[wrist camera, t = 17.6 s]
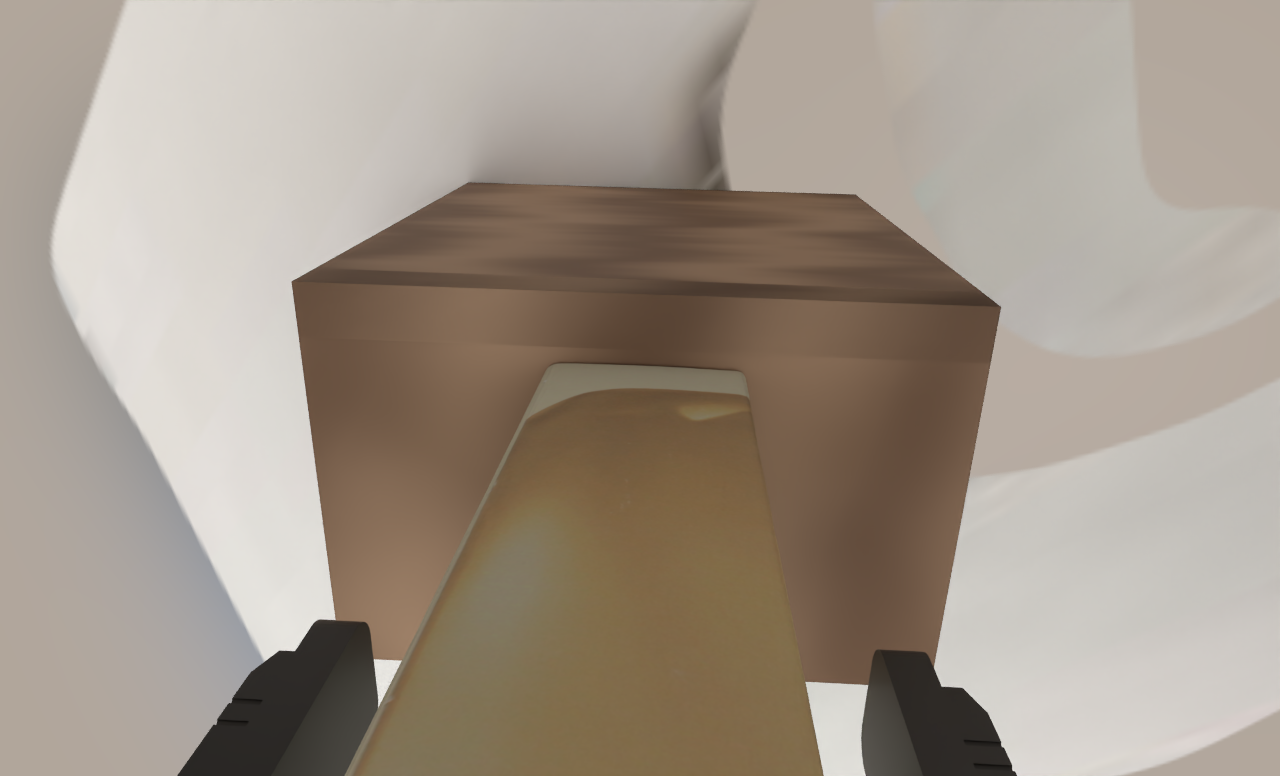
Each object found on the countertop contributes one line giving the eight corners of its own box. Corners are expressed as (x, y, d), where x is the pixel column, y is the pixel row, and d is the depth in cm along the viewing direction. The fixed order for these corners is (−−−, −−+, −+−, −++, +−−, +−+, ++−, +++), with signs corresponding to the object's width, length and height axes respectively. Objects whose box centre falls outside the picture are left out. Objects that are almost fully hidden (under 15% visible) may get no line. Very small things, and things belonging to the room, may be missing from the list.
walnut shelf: (855, 194, 31) (1000, 306, 17) (828, 429, 34) (929, 688, 20) (468, 182, 31) (291, 281, 17) (480, 415, 35) (340, 657, 21)
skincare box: (733, 612, 20) (801, 1369, 8) (549, 604, 20) (367, 1335, 8) (750, 352, 17) (878, 911, 6) (541, 346, 17) (276, 876, 6)
